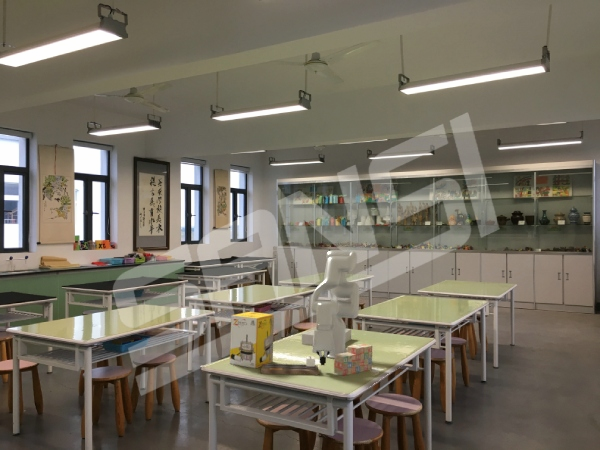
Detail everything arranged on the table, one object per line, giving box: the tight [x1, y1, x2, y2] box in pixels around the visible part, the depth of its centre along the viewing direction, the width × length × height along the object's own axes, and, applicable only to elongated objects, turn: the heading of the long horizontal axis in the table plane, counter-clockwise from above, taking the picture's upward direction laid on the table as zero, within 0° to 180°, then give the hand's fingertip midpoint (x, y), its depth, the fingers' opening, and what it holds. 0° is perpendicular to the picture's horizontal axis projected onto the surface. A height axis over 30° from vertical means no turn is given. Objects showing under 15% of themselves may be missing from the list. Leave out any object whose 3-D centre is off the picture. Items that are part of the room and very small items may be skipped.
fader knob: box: [305, 356, 316, 367], centre depth 239 cm, size 4×5×5 cm
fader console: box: [260, 363, 320, 376], centre depth 238 cm, size 28×10×3 cm, turn 92°
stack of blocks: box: [333, 343, 373, 376], centre depth 242 cm, size 21×6×12 cm, turn 131°
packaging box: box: [229, 311, 275, 369], centre depth 254 cm, size 16×16×25 cm
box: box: [301, 328, 352, 346], centre depth 312 cm, size 23×8×32 cm
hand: (322, 364), depth 239 cm, fingers closed
